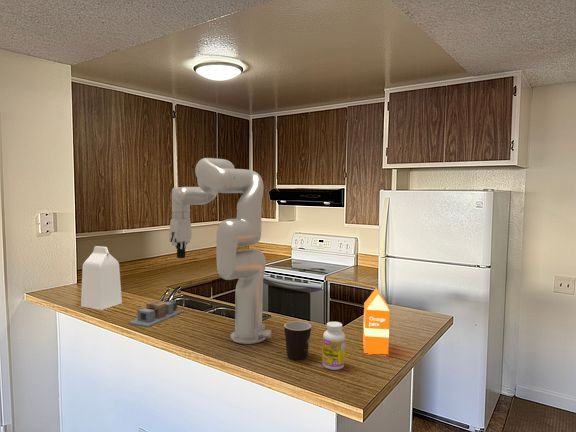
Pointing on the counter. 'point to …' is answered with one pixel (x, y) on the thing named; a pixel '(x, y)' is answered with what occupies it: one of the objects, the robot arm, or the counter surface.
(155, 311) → the shaft
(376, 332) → the orange juice
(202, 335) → the counter surface
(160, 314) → the block
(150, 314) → the bearing block
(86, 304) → the milk
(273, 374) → the counter surface
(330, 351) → the supplement bottle
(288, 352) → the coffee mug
